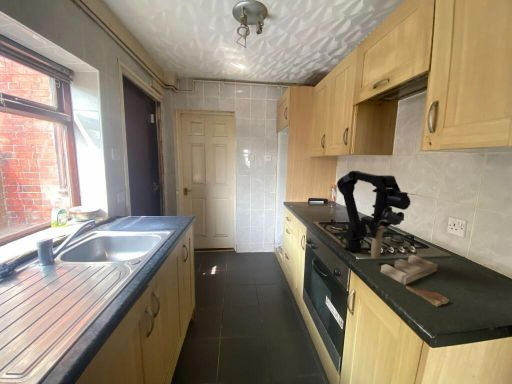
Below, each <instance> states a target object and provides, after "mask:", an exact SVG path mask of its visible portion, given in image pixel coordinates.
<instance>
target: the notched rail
mask: <svg viewBox="0 0 512 384" xmlns="http://www.w3.org/2000/svg"><path fill="white" fill-rule="evenodd" d="M437 270H438V264H437V263H435V262H432V261H429V260H427V259H424V258H422V257H419V256H417V255H414V254H411V255H409V256H408V260H404V259H402V258H399V259H397V260H395V261H394V266H391V265H389V264H387V263H386V264H382V265H381V268H380V273H381V274H383V275H386V276H387V277H389V278H391V279H393V280H395V281H396V282H398V283H400V284H403V285H406V286H407V285H408V284H410V283H412V282H414V281H415V282H416V281H417V280H419V279H422V278H424V277H427V276H429V275H430V274H433V273H434V272H437Z"/></svg>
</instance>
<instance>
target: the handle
mask: <svg viewBox="0 0 512 384" xmlns="http://www.w3.org/2000/svg"><path fill="white" fill-rule="evenodd" d="M383 232H385V233H387V232H388V228H387V227H385V226H381V227H379V228H378V230H377V234H376V238H373V237H372V241H371V248H370V253H371V254H370V256H371V258H373V259H374V260H379V259H380V255H381V252H382V247H383V237H382V234H383Z"/></svg>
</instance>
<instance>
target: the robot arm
mask: <svg viewBox="0 0 512 384" xmlns="http://www.w3.org/2000/svg"><path fill="white" fill-rule="evenodd" d="M359 181H360V182H364V183H369V184H371V185H372V186H373V187H374V189H373V190H372V193H375V201H374V204H372V208H373V213H371V215H367V216H366V215H365V216H362V217H360V215H359V211H358V207H357V203H356V200H355V196H354V191H355V189H356V188H355V185H356V184H358V182H359ZM336 187H337V189H338V191H339V192H340V194H342V196H343V200H344V204H345V209H346V212H347V216H348V225H347V231H345V232H344V233H343V238H344V239H345V242H346V243H345V246H344V247H343V249H344V250H346V251H347V252H350V253H352V254H356V253H359V252H362V240H363V241H364V239H365V238H366V236H367V235H368V230H369V232H370V235H371V237H372V239H373V238H376V234H377V230H378V228H379V227H381V226H385V227H387V229H388V228H389V227H390V226H397V225H400V224H401V223H402V222H403V221H405V213H404V212H402V211H398V212H396V211H393V208H395V209H398V210H403V211H405V210H407V209H408V208H409V207H410V206H411V202H412V201H411V199H410V197H409V196H408V194H409V193H408V192H405V191H404V192H402V191H401V188H400V187H399V185H398V183H397V180H396V177H395V176H394V175H389V174H388V175H380V174H379V175H377V174H372V173H367V172H363V171H359V170H351V171H349V172H348V173H347V174H345V175H343V176H342V177H340V178H339V179H338V180H337V182H336ZM367 227H368V228H367ZM385 233H386V232H383V234H382V238H383V237H384V235H385Z"/></svg>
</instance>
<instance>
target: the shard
mask: <svg viewBox="0 0 512 384" xmlns="http://www.w3.org/2000/svg"><path fill="white" fill-rule="evenodd" d="M405 287H406V288H405V289H407V290H408V291H409V292H411V293H414V294H415V295H417V296H419V297H421V298H422V299H424V300H426V302H428V303H430V304H431V305H433V306H435V307H439V306H442V305H446V304H448V303H449V302H450V300H449V299H448V298H447V297H445V296H444V295H442V294H440V293H439V292H436V291H433V290H429V289H424V288H419V287H414V286H409V285H407V284H406V285H405Z"/></svg>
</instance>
